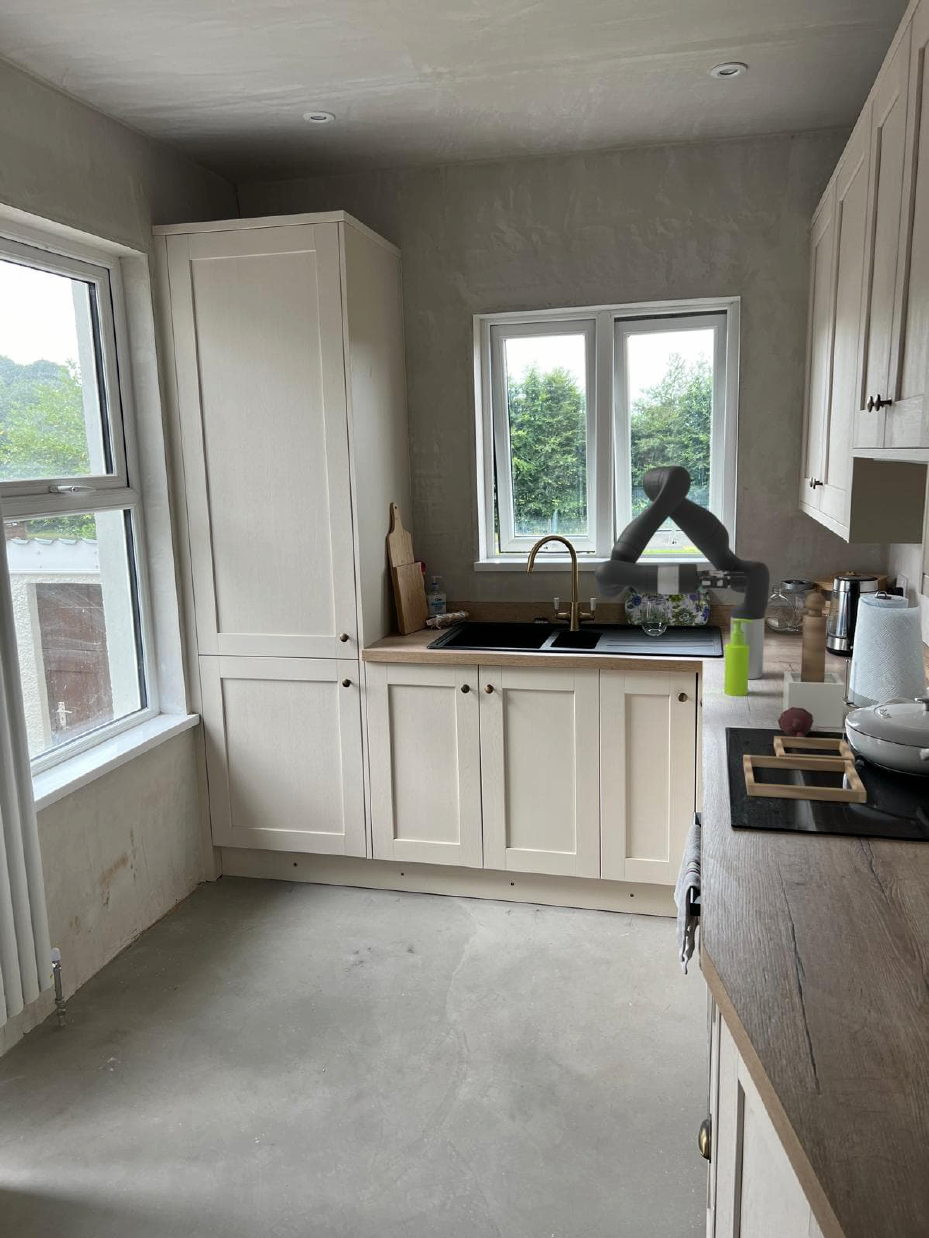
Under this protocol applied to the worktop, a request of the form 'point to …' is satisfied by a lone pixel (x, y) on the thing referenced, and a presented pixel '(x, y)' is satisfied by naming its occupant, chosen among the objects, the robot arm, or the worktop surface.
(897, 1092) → the worktop surface
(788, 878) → the worktop surface
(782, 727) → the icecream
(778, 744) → the frame
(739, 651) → the soap dispenser
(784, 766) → the frame
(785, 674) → the plinth
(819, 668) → the pepper mill
